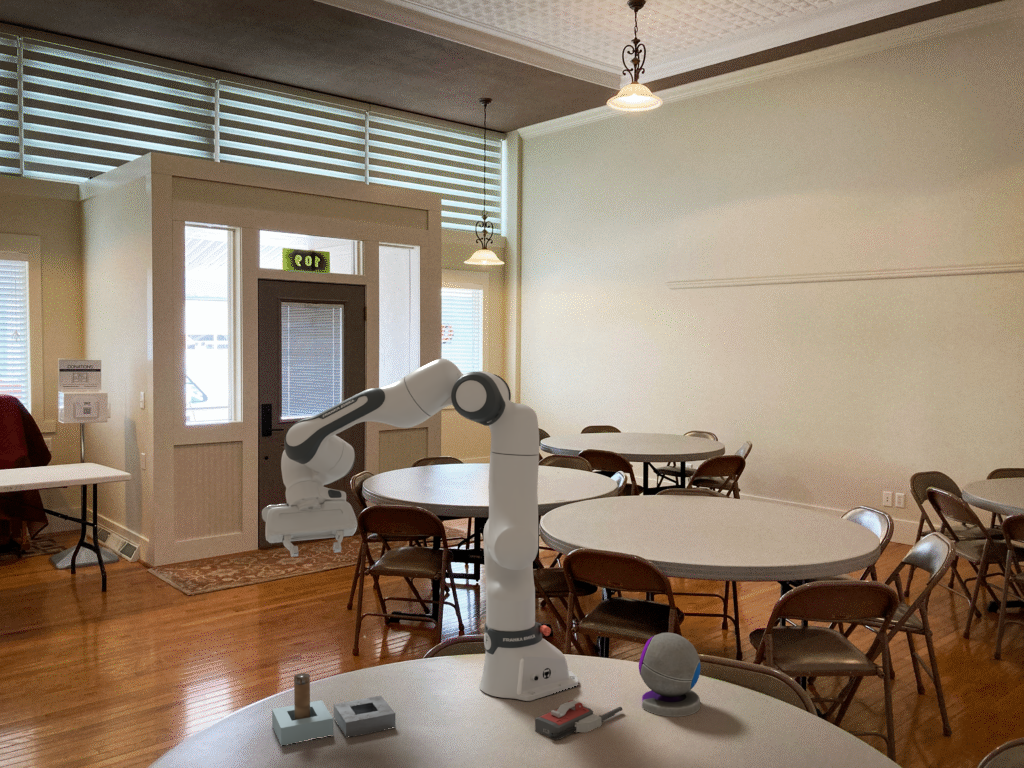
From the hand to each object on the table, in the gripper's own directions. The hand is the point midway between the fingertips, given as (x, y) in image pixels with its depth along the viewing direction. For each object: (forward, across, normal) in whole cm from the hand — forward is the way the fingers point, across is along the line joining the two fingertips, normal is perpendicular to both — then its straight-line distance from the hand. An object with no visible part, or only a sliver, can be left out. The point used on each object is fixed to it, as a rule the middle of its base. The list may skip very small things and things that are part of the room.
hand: (316, 553), depth 181 cm
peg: (+34, -7, +10) cm, 37 cm away
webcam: (+50, +66, -6) cm, 83 cm away
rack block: (+34, -7, +10) cm, 37 cm away
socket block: (+36, +5, +8) cm, 37 cm away
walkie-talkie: (+50, +44, -5) cm, 67 cm away
